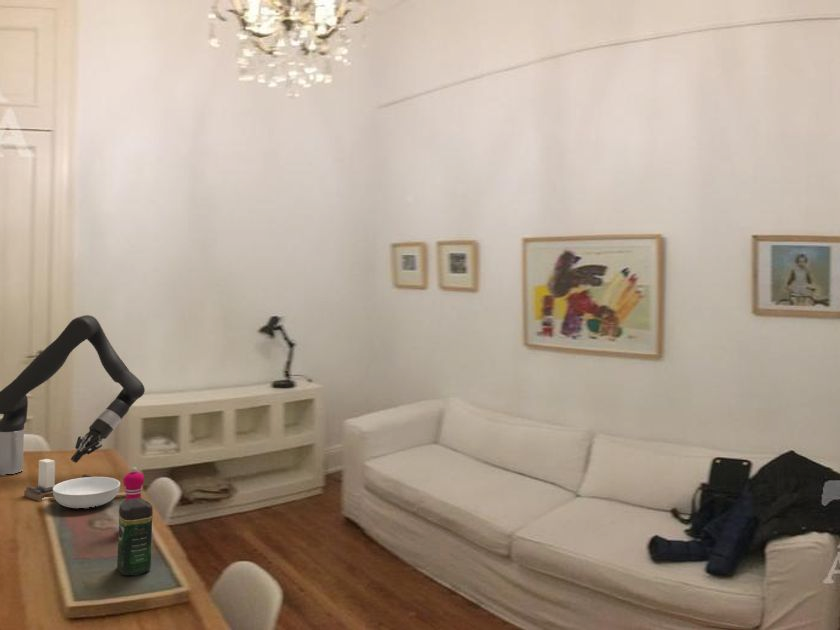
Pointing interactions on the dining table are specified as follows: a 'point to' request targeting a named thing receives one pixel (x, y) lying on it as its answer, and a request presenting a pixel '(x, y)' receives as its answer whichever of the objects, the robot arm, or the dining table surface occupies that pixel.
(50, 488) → the block
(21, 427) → the robot arm
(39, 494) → the brown flat rectangular board
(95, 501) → the serving bowl
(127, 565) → the green labelled bottle
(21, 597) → the dining table surface
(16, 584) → the dining table surface
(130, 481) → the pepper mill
